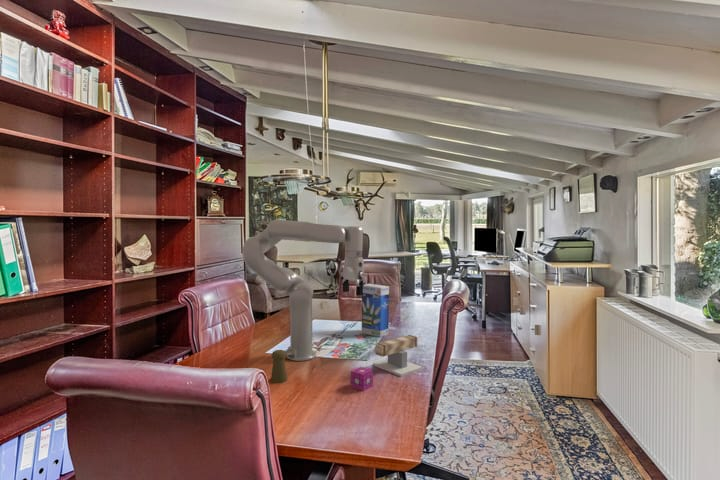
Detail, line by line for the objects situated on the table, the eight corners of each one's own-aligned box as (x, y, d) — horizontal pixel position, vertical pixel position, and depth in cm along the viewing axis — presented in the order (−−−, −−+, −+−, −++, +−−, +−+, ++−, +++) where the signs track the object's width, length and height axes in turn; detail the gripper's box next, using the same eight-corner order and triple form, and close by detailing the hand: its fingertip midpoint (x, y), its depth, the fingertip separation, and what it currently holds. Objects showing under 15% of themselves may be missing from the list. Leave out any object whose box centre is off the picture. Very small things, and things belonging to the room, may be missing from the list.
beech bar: (382, 356, 148) (382, 346, 148) (375, 354, 152) (375, 343, 151) (417, 346, 161) (417, 336, 161) (410, 344, 164) (410, 334, 164)
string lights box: (361, 332, 207) (361, 284, 206) (370, 329, 213) (370, 283, 212) (380, 337, 198) (380, 287, 197) (389, 334, 204) (389, 285, 203)
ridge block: (401, 376, 147) (401, 358, 146) (373, 365, 159) (373, 348, 159) (422, 369, 154) (422, 352, 154) (393, 358, 167) (393, 342, 166)
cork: (279, 384, 139) (279, 354, 139) (267, 381, 143) (267, 351, 142) (290, 378, 145) (290, 349, 144) (278, 375, 148) (278, 347, 147)
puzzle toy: (360, 382, 142) (360, 366, 142) (373, 386, 138) (373, 370, 138) (350, 387, 138) (350, 371, 137) (363, 391, 134) (363, 375, 134)
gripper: (373, 255, 165) (371, 295, 165) (348, 253, 178) (347, 289, 179) (359, 256, 160) (357, 297, 161) (335, 253, 174) (334, 291, 174)
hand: (352, 293), depth 170 cm, fingers open, 9 cm apart
